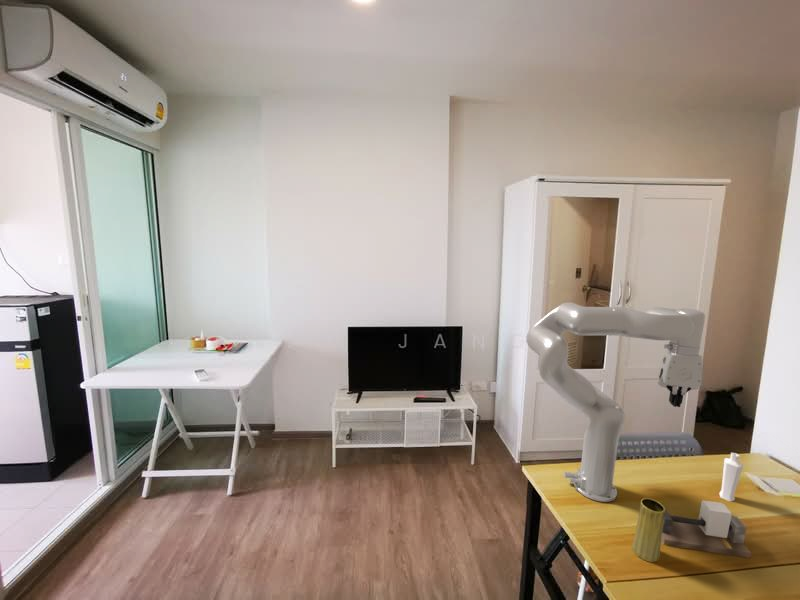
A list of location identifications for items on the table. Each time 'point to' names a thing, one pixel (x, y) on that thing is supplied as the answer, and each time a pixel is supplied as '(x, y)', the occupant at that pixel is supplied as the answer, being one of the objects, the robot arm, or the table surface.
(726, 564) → the table surface
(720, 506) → the notched white rod block
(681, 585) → the table surface
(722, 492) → the perfume bottle
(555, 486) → the table surface
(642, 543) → the vase
